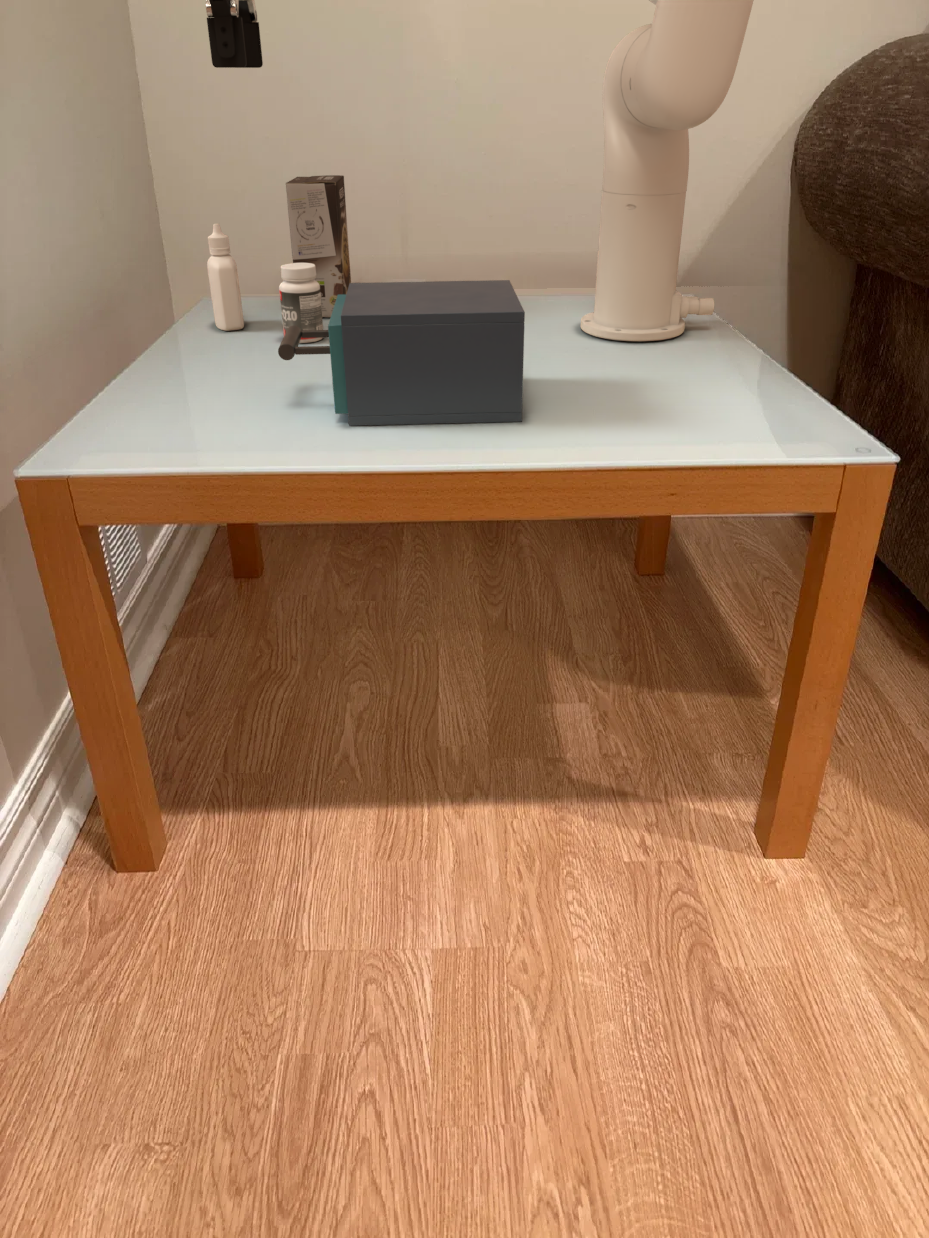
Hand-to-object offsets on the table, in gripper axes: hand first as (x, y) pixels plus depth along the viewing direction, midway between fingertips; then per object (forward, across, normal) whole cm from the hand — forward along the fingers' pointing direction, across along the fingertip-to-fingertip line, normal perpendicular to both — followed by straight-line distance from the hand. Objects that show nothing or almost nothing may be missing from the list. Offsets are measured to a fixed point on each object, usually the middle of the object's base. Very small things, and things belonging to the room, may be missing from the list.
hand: (239, 67), depth 92 cm
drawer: (+27, -20, -15) cm, 37 cm away
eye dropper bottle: (+28, +11, +7) cm, 31 cm away
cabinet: (+28, -20, -19) cm, 39 cm away
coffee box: (+28, +19, -5) cm, 35 cm away
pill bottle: (+28, +4, -4) cm, 29 cm away
